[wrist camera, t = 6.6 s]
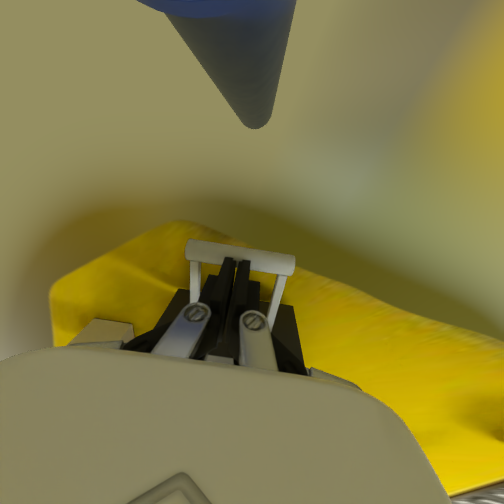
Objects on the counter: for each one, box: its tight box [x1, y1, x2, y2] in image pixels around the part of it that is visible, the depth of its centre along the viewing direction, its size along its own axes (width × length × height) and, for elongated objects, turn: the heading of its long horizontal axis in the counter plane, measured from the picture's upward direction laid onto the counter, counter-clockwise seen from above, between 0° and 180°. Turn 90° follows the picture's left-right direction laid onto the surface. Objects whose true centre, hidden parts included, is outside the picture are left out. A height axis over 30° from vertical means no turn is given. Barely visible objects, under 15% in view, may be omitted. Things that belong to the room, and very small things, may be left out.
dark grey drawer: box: [154, 239, 305, 366], centre depth 18 cm, size 21×11×6 cm, turn 171°
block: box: [68, 318, 135, 345], centre depth 22 cm, size 4×4×4 cm
